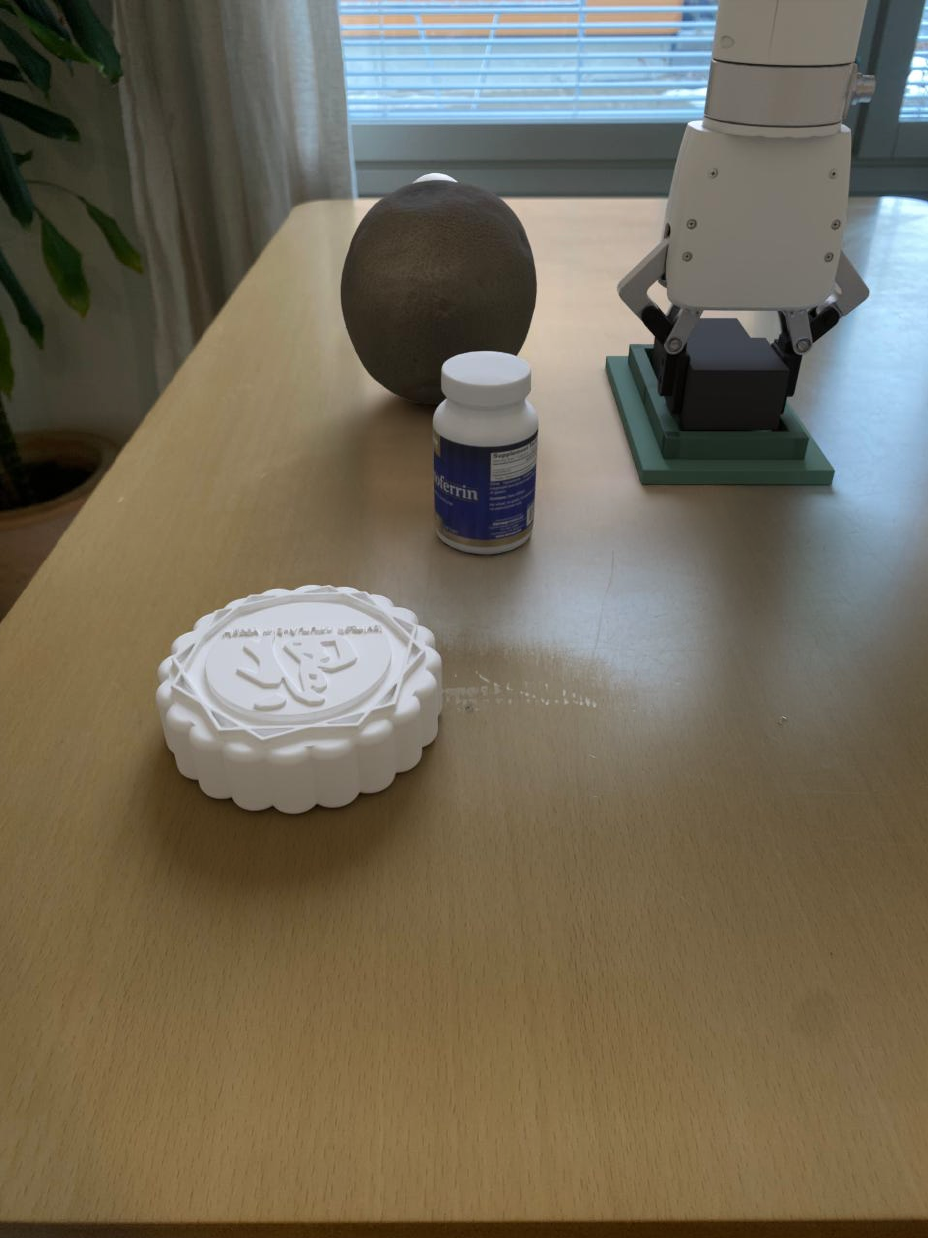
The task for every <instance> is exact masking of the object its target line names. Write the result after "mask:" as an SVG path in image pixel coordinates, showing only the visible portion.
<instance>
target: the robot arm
mask: <svg viewBox="0 0 928 1238" xmlns="http://www.w3.org/2000/svg"><path fill="white" fill-rule="evenodd" d="M867 4H868V0H718V3H717V10H716V11H717V12H716V20H715V26H714V33H713V42H712V47H711V49H712V50H711V58H710V61H709V62H710V63H709V70H708V77H707V85H706V91H705V93H706V94H705V100H704V106H703V115H702V120H691V121H689V122H688V123H687V125H686V127H685V131H684V134H683V137H682V140H681V143H680V147H679V150H678V154H677V158H676V162H675V165H674V170H673V175H672V180H671V183H670V189H669V193H668V198H667V203H666V208H665V213H664V220H663V224H662V230H661V235H660V242H659V243H658V244H657V245H656V246H655V247H654V248H653V249H652V250H651V251H650V252H649V253H648V254H647V255H646V256H645V257H643V259H642V260H641V261H640V262H638V263H637V265H636V266H634V267H633V268H632V269H631V270H630V271H629V272H628V273H627V274H626V275H625V276H624V277H622V279H621V280H619V282H618V283H617V286H616V292H617V295H618V296H619V298H620V300H621V301H622V302H623V303H624V304H625V306H627V307H628V308H629V310H630V311H631V312H632V313H633V314H634V315H635V316H636V317H637V318H638V319H639V320H640V321H641V322H642V324H643V325H644V326H645V327H646V329H647V330H648V331H649V332H650V333H651V334H652V335H653V337H654V338H655V337H656V339H657V340H658V341H659V342H660V343H661V344H662V345H663V346H662V353H661V361H660V369H659V377H658V394H659V396H664V397H665V400H666V403H667V405H668V408H669V410H670V412H671V414H679V413H680V412H681V410H682V404H683V397H684V390H685V383H686V376H687V369H688V362H689V361H690V355H689V353H688V351H687V349H686V348H687V340H688V338H689V337H690V335H691V333H692V331H693V329H694V327H695V326H696V324H697V322H698V320H699V318H701V317H702V315H703V313H704V311H715V312H717V311H718V312H719V311H725V312H726V311H727V312H729V311H730V312H731V311H732V312H735V311H736V312H737V311H738V312H758V311H759V312H777V318H778V322H779V328H780V332H781V333H779V334H778V338H774V339H773V342H772V343H770V345H771V347H772V348H773V349H774V351H775V352H776V353H777V355H778V356H779V357H780V359H781V360H782V361H783V362H784V363H785V365H786V366H787V367H788V369H789V370H790V373H789V378H788V382H787V387H786V392H785V397H784V401H783V406H782V411H781V414H783V413H784V410H785V405H786V400H787V401H788V398H792V397H794V395H795V392H796V388H797V384H798V379H799V374H800V369H801V364H802V361H803V356H805V355H806V354H808V353H809V352H811V350H812V349H813V344H814V343H815V342H817V341H818V340H819V339H821V338H822V337H823V336H825V335H826V334H827V333H828V332H830V331H831V329H833V328H834V327H836V325H837V324H838V323H839V321H840V319H841V318H842V319H843V317H846V316H848V315H849V314H850V313H852V311H853V310H855V309H856V308H858V307H859V306H860V305H861V304H863V303H864V302H865V301H867V300H868V298H869V296H870V293H871V292H870V288H869V287H868V285H867V284H866V282H865V281H864V279H863V278H862V276H861V275H860V274H859V273H858V271H857V270H856V268H855V267H854V265H853V264H852V263H851V260H849V258H848V257H847V256H846V254H845V252H844V251H843V250H842V247H843V246H842V245H843V240H844V233H845V227H846V220H847V211H848V204H849V203H848V201H849V193H850V179H851V178H850V177H851V163H852V129H851V128H850V127H848V126H847V125H845V124H842V123H843V119H847V117H848V114H849V111H850V108H851V106H855V105H857V104H858V103H870V102H871V101H872V99H873V97H874V94H875V91H876V85H877V84H876V82H877V81H876V76H875V75H873V74H872V75H871V74H865V75H864V74H863V73H862V72H861V71H860V72H859V71H858V68H859V67H858V66H859V65H858V63H855V62H856V57H857V52H858V49H859V43H860V38H861V34H862V29H863V24H864V19H865V14H866V10H867ZM656 282H658V284H659V285H661V287H663V288H664V289H666V297H667V299H668V301H669V303H670V305H669V306H668V309H667V311H666V313H665V312H664V311H663V310H662V309H661V307H660V306H659V305H658V304H657V303H656V302H655V301H654V300H653V299H652V298H651V296H649V294H648V291H649V289H650V288H651V287H652V286H653V285H654V284H655V283H656ZM834 285H835V289H834V291H833V292H832V290H833V287H834Z"/></svg>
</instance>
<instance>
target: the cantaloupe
mask: <svg viewBox="0 0 928 1238" xmlns="http://www.w3.org/2000/svg"><path fill="white" fill-rule="evenodd" d="M526 232H527V231H526V229H525V227H524V225H523V224H522V221H521V220H520V218H519V217H518V215H517V214H516V212H515V211H514V210H513V209H512V208H511V207H510V206H509V205H508V204H507V202H506V201H504V199H502V198H500V197H499V196H498V195H497V194H495V193H494V192H493V191H492V192H491V191H489V190H488V189H486V188H483V187H480V186H476V185H474V184H469V183H466V182H459V181H457V182H454V181H448V180H430V181H422V182H416V183H413V182H412V183H409V184H405V185H404V186H401V187H399V188H397V189H396V190H394V191H392V192H391V193H389V194H387V195H386V196H384V197H382V198H380V199H379V200H378V201H376V203H374V204H373V205H372V207H370V209H369V210H368V211H367V213H366V214H365V215H364V216H363V217H362V219H361V221H360V222H359V224H358V226H357V227H356V229H355V232H354V234H353V236H352V238H351V240H350V244H349V248H348V251H347V253H346V256H345V259H344V263H343V268H342V272H341V279H340V306H341V312H342V317H343V321H344V325H345V327H346V331H347V334H348V337H349V340H350V342H351V345H352V346H353V347H352V348H353V349H354V351H355V353H356V355H357V358H358V359H359V361H360V363H361V365H362V366H363V368H364V370H365V371H366V372H367V373H368V375H369V376H370V377H371V378H372V379H373V380H374V381H375V382H376V383H378V384H379V385H380V386H382V387H383V388H384V389H386V390H388V391H389V392H390V393H392V394H394V395H395V396H397V397H399V398H401V399H404V400H406V401H408V402H410V403H415V404H421V405H440V404H441V403H442V402H443V401H444V400H445V399H446V396H445V395H444V393H443V392H442V389H441V370H442V366H443V364H444V363H445V362H446V361H447V360H448V359H450V358H452V357H454V356H457V355H460V354H464V353H469V352H479V351H492V352H502V353H507V354H511V355H514V356H517V357H518V355H519V353H520V352H521V350H522V349H523V346H524V344H525V342H526V340H527V337H528V334H529V332H530V328H531V324H532V321H533V317H534V312H535V309H536V303H537V295H538V294H537V293H538V281H537V279H538V278H537V269H536V265H535V259H534V254H533V250H532V246H531V244H530V243H531V242H530V241H529V238H528V235H527V233H526Z"/></svg>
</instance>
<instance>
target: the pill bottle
mask: <svg viewBox="0 0 928 1238" xmlns="http://www.w3.org/2000/svg"><path fill="white" fill-rule="evenodd" d="M441 389H442V392H443V393H444V395H445V396H446V399H445V400H444V401H443V402H442V403H441V404H438V406H437V407H436V409H435V411H434V413H433V418H432V457H433V459H432V460H433V463H432V464H433V466H432V469H433V471H432V473H433V509H434V512H433V513H434V516H433V517H434V527H435V532H436V535H437V536H438V537H439V538H440V540H441V541H442V542H443V543H444V544H446V545H448V546H449V547H451V548H453V549H455V550H458V551H461V552H463V553H467V554H474V555H475V554H476V555H497V554H503V553H506V552H509V551H512V550H515V549H517V548H518V547H521V546H522V545H524V543H526V542H527V540H528V539H529V538H530V536H531V535H532V532H533V529H534V521H535V507H536V505H535V504H536V483H537V464H538V463H537V462H538V443H539V440H538V439H539V416H538V414H537V411H536V410H535V408H534V406H533V405H532V404H531V403H530V402H529V401H528V400H526V399H527V397H528V396H529V395H530V393H531V390H532V367H531V365H530V364H529V363H528V362H527V361H526V360H525V359H524V358H522V357H519V356H518V355H517V356H514V355H511V354H507V353H502V352H492V351H479V352H469V353H464V354H460V355H457V356H454V357H452V358H450V359H448V360H447V361H446V362H445V363H444V364H443V366H442V370H441Z"/></svg>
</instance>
